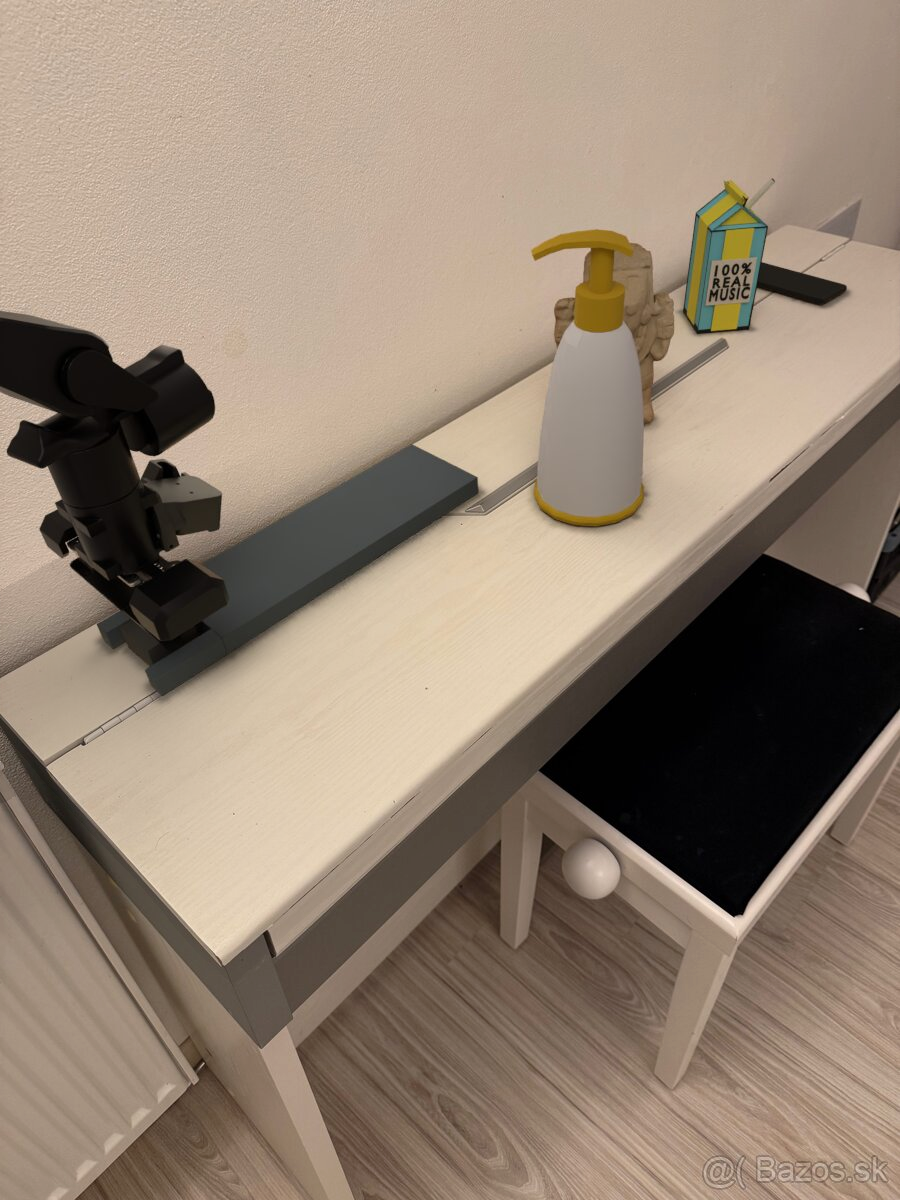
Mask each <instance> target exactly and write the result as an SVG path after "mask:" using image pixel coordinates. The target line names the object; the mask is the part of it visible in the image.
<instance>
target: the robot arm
mask: <svg viewBox="0 0 900 1200" xmlns="http://www.w3.org/2000/svg"><path fill="white" fill-rule="evenodd" d="M0 393H1V394H4V395H5V396H8V397H10V398H13V399H17V400H19V401H22V402H24V403H28V404H30V405H34V406H36V407H39V408H43V409H45V410H49V411H51V412H54V413H55V414H53V415H51V416H50V417H48V418H46V419H44V420H42V421H41V422H39V423H34V422H32V421H29V420H25V419H22V420H20V422H19V426H18V429H17V433H15V435H14V436H13V437H12V438H11V440H10V442H9V444H8V446H7V448H6V454H7V456H8V457H10V458H12V459H15V460H18V461H20V462H22V463H25V464H28V465H30V466H33V467H36V468H38V469H40V470H42V469H46V468H47V469H48V471H49V474H50V476H51V478H52V479H53V482H54V484H55V488H56V489H57V492H58V494H59V496H60V498H61V499H60V500H57V501H56V502H54V504H55V508H56V509H54V510H53V511H51V512H49V513H47V514H45V515H44V517H43V520H42V522H41V523H40V526H39V528H38V530H39V532H40V534H41V536H42V538H43V541H44V543H45V545H46V547H47V548H49V550H51V551H52V553H54V554H55V555H57V556H58V557H59V558H60V559H65V558H66V557H68V556H69V555H70V550H71V551H72V552H73V553H74V554H75V556H76V558H75V559H73V560H71V562H70V563H69V567H70V569H71V570H72V571H73V572H75V573H76V574H77V575H78V576H80V578H82V579H83V580H84V581H85V582H86V583H88V584H89V585H91V587H92V588H93V589H95V590H96V591H97V592H98V593H100V594H101V596H103V597H104V598H106V600H107V601H109V602H110V603H112V605H114V606H115V607H116V608H117V609H118V610H119V611H120V610H121V611H122V612H123V613H124V614H126V615H127V616H128V617H129V618H130V619H131V620H133V621H134V622H136V623H137V624H138V625H139V626H140V627H142V628H143V629H144V630H145V631H146V632H147V633H149V634H150V635H151V636H152V637H153V638H154V639H156V640H157V641H158V642H159V643H160V644H161V645H162V646H164V647H165V648H166V649H167V650H168V651H170V652H172V651H174V650H176V649H177V648H179V647H180V646H181V641H182V633H183V632H185V631H186V630H188V629H190V628H191V627H193V626H194V625H196V624H198V623H199V622H201V621H202V620H204V619H205V618H207V617H209V616H210V615H212V614H213V613H215V612H216V611H218V610H220V609H221V608H223V607H224V606H226V605H227V604H228V600H229V596H228V593H227V589H226V586H225V583H224V580H223V579H222V578H220V577H219V576H218V575H216V574H215V573H213V572H212V571H211V570H209V569H208V568H206V567H205V566H203V565H202V563H201V562H200V561H197V560H192V559H188V558H184V559H183V560H178V559H176V560H171V561H169V560H167V559H166V558H164V557H163V556H161V555H160V553H162V552H163V551H164V552H165V553H169V552H170V551H172V550H174V549H176V548H178V547H179V546H181V545H180V542H179V539H178V537H181V536H186V535H191V534H192V535H193V534H196V533H203V532H207V531H208V532H209V533H212V532H216V531H218V530H220V528H221V518H222V517H221V516H222V515H221V514H222V501H223V492H222V491H221V490H220V489H218V488H216V487H214V486H213V485H212V484H210V483H209V482H207V481H206V480H204V479H201V478H200V477H198V476H195V475H190V474H189V473H187V472H186V471H184V472H181V473H180V472H179V470H178V468H177V465H175V464H173V463H172V462H171V461H168V460H167V459H165V458H157V459H150V460H149V461H148V463H147V464H146V467H145V468H144V470H143V473H142V475H141V477H140V474H139V471H138V468H137V466H136V463H135V460H134V457H133V455H132V452H136V453H138V452H139V453H140V454H143V455H145V456H147V457H157V456H160V455H161V454H163V453H164V452H166V451H168V450H169V449H170V448H172V447H173V446H175V445H177V444H178V443H179V442H181V441H183V440H184V439H186V438H187V437H188V436H190V435H192V434H193V433H195V432H196V431H198V430H199V429H200V428H202V427H204V426H206V425H207V424H208V423H210V422H211V421H212V420H213V419H214V416H215V414H216V401H215V398H214V397H215V396H214V395H213V392H212V391H211V390H210V389H209V388H208V386H207V385H206V383H205V381H204V380H203V379H202V377H201V376H200V374H199V373H198V372H197V371H196V370H195V369H194V368H193V367H192V366H190V365H189V363H186V361H185V356H184V353H183V350H182V349H180V348H176V347H172V346H168V345H165V344H160V345H158V346H157V347H154V348H153V349H152V350H150V351H149V352H148V353H147V354H146V355H145V356H143V357H142V358H140V359H138V360H137V361H136V362H133V363H131V364H130V365H127V366H126V367H125V368H123V367H122V366H121V365H119V364H117V362H115V361H114V359H113V356H112V354H111V351H110V345H109V343H108V342H107V341H106V340H105V339H104V338H103V337H102V336H100V335H97V334H96V333H94V332H93V331H89V330H86V329H82V328H79V327H76V326H72V325H68V324H64V323H60V322H57V321H55V320H50V319H46V318H42V317H39V316H35V315H30V314H27V313H18V312H13V311H6V310H0ZM194 627H195V626H194Z"/></svg>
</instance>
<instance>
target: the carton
mask: <svg viewBox="0 0 900 1200" xmlns="http://www.w3.org/2000/svg"><path fill="white" fill-rule="evenodd" d="M775 183H776V180H775V179H774V178H773V177H771V178H770V179H769V180H768V181H767V182H766V183H765V184H764V185H763V186H762V187H761V188H760V189H759V190H758V191H757V193H755V194H754V195H753V196H752V197H751V199H750V200H749V196H748V195H747V194H746V192H744V191H743V190H742V189H741V188H740V187H739V186H738V185H737V184H736V183H735V182H734V181H733V180H732V179H729V180H727V181H726V180H723V185H724V189H723V190H722V191H720V192H719V193H718V194H717V195H716V196H714V197H713V198H712V199H710V200H709V201H708V202H706V203H705V204H704V205H703V206H701V208H699V209H698V210H697V211H695V217H694V223H693V231H692V237H691V238H692V239H691V247H690V254H689V260H688V261H689V262H688V269H687V278H686V285H685V293H684V301H683V308H682V313H683V314H684V316H685V318H686V319H687V321H688V323H689V324H690V326H691V327H692V328H693V330H694V331H695V333H696V334H697V335H698V334H710V333H722V332H734V331H746V330H750V326H751V321H752V317H753V316H752V315H753V310H754V306H755V300H756V295H757V290H758V286H757V284H758V279H759V273H760V268H761V263H762V262H763V258H764V257H763V256H764V252H765V245H766V241H767V236H768V229H769V226H768V224H767V223H766V222H765V221H764V220H762V219H761V218H760V217H759V216H758V215H757V214H756V212H755V211H753V210H752V209H751V208H753V206H754V205H755V204H757V202H758V201H759V200H760V199H761V198H762V197H764V195H765V194H766V193H767V191H769V189H770V188H772V186H773V185H774V184H775ZM748 200H749V201H748Z"/></svg>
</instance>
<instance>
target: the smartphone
mask: <svg viewBox="0 0 900 1200" xmlns="http://www.w3.org/2000/svg"><path fill="white" fill-rule="evenodd" d="M757 288H761V289H765V290H768V291H772V292H775V293H779V294H782V295H786V296H789V297H792V298H796V299H799V300H803V301H806V302H810V303H813V304H817V305H825V304H826V303H828V302H830V301H831V300H833V299H835V298H836V297H839V296H840V295H841V294H843V293H845V292H846V291H847V289H848V285H846V284H844V283H840V282H838V281H833V280H829V279H826V278H822V277H818V276H815V275H810V274H807V273H804V272H800V271H796V270H792V269H789V268H786V267H781V266H778V265H774V264H771V263H766V262H763V261H762V263H761V268H760V273H759V279H758V284H757Z"/></svg>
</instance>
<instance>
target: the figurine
mask: <svg viewBox="0 0 900 1200" xmlns="http://www.w3.org/2000/svg"><path fill="white" fill-rule="evenodd" d="M629 243H630V245H631V247H632V249H633V251H634V252H633V255H632V257H629V256H627V255H625V254H623V253H620V252H618V251H615V253H614V267H613V281H616V282H618V283H621V284H622V285H623V286H624V287H625V299H624V312H623V321H624V322H625V324H626V325H627V327H628V328H629V330H630V331H631V333H632V336H633V339H634V342H635V346H636V349H637V353H638V358H639V364H640V369H641V382H642V394H643V418H644V424H648V423H650V422H652V421H653V420H654V417H655V411H654V408H653V402H652V388H653V387H652V386H653V384H654V378H655V377H654V376H655V372H654V371H655V370H654V362H659V361H662V360H663V359H664V358H665V357H666V356H667V354H668V352H669V348H670V345H671V340H672V338H673V336H674V334H675V314H674V312H675V308H674V307H675V302H674V299H673V298H671V297H670V295H669V294H668V292H658V293H655V294H654V273H653V272H654V264H653V257H652V252H651V251H650V250H648V249H646V248H645V247H643V246H642V245H641V244H639V243H636V242H629ZM590 253H591V250H590V251H588V252H587V253H586V255H585V256H584V260H583V274H582V277H583V279H582V280H583V281H582V283H583V282H586V281H589V273H590ZM574 313H575V297H573V296H572V297H563V298H560V299H558V300H557V301H556V303H555V304H554V307H553V315H554V318H555V321H554V322H555V323H554V331H553V336H554V337H553V338H554V342H555V344H556V350H557V349H558V346H559V344H560V341H561V339H562V337H563V334H564V332H565V331H566V329H567V328H568V327H569V325H570V324H571V323H572V321H573V320H574Z"/></svg>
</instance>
